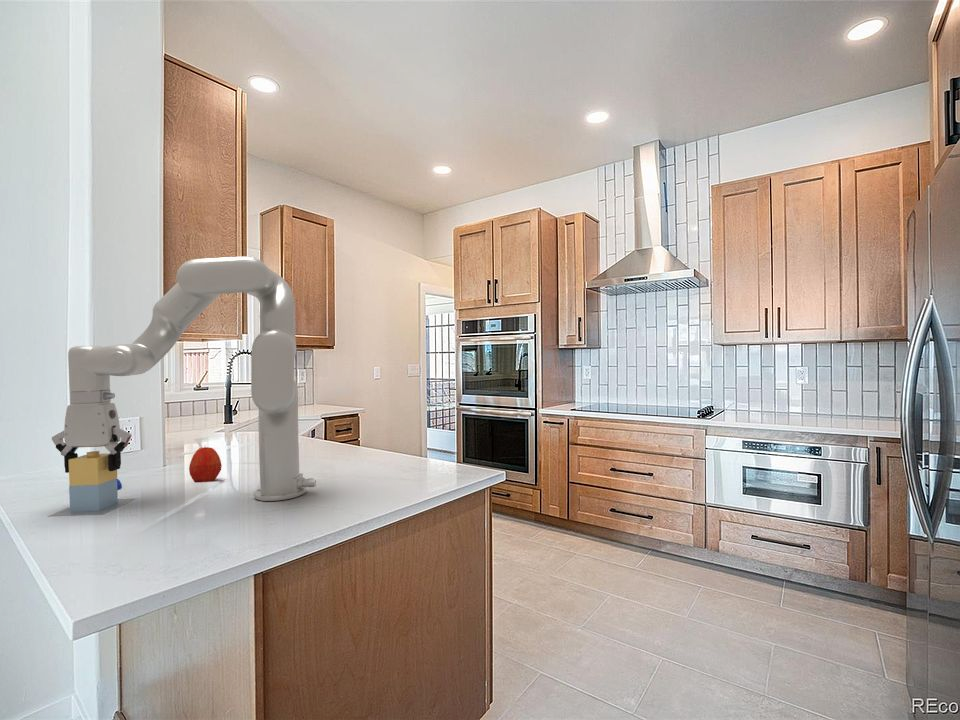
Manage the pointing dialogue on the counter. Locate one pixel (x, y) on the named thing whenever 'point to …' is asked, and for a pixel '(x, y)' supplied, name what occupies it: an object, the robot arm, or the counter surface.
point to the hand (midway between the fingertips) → (93, 470)
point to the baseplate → (67, 511)
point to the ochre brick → (90, 469)
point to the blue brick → (93, 496)
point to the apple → (205, 465)
